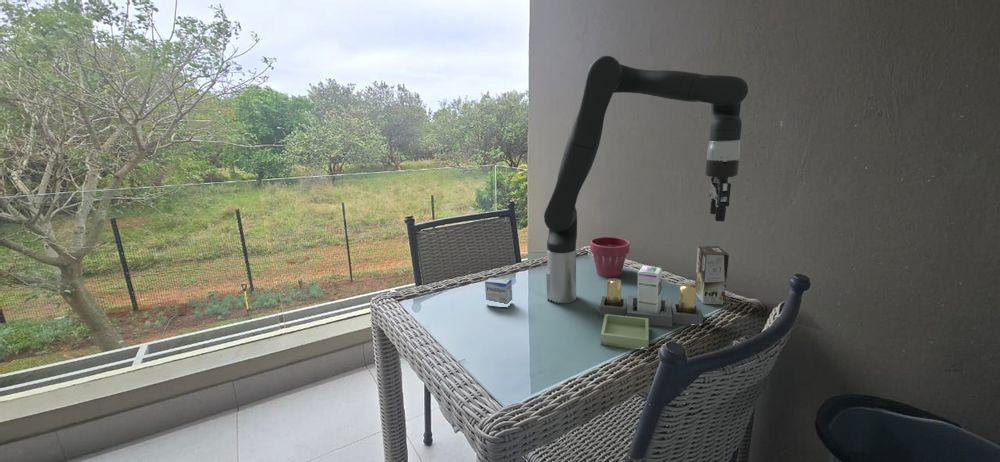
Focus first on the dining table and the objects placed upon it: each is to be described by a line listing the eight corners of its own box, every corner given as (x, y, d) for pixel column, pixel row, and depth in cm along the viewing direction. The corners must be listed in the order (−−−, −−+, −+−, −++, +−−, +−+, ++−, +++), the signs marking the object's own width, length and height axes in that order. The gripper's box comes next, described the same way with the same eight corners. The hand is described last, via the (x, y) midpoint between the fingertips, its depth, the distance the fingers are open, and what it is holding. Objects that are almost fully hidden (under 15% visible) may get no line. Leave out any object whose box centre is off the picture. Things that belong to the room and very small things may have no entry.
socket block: (598, 318, 112) (598, 309, 112) (603, 301, 123) (603, 293, 122) (703, 330, 103) (704, 320, 102) (697, 310, 113) (698, 301, 113)
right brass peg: (678, 321, 108) (680, 288, 106) (677, 314, 112) (679, 283, 109) (694, 322, 107) (696, 289, 104) (692, 316, 110) (695, 284, 108)
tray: (600, 344, 99) (600, 334, 98) (604, 323, 110) (605, 313, 109) (648, 350, 95) (648, 340, 94) (648, 328, 106) (648, 318, 105)
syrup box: (657, 321, 109) (659, 273, 105) (636, 317, 112) (637, 270, 108) (660, 312, 114) (663, 267, 110) (640, 309, 117) (641, 264, 113)
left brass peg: (606, 313, 115) (606, 282, 113) (607, 307, 119) (607, 277, 116) (620, 315, 114) (620, 284, 111) (620, 309, 118) (621, 278, 115)
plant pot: (635, 271, 147) (636, 239, 143) (618, 283, 137) (618, 249, 134) (601, 264, 156) (601, 234, 153) (583, 274, 147) (583, 243, 143)
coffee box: (725, 304, 116) (729, 254, 112) (702, 304, 117) (706, 254, 113) (715, 292, 125) (719, 245, 121) (693, 292, 126) (697, 245, 122)
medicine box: (486, 306, 125) (484, 281, 123) (491, 300, 129) (489, 276, 127) (508, 308, 122) (506, 283, 120) (513, 303, 126) (511, 278, 124)
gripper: (703, 156, 109) (698, 211, 113) (711, 160, 96) (705, 223, 100) (733, 155, 106) (727, 212, 110) (745, 160, 93) (738, 224, 97)
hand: (716, 217), depth 105 cm, fingers open, 8 cm apart
